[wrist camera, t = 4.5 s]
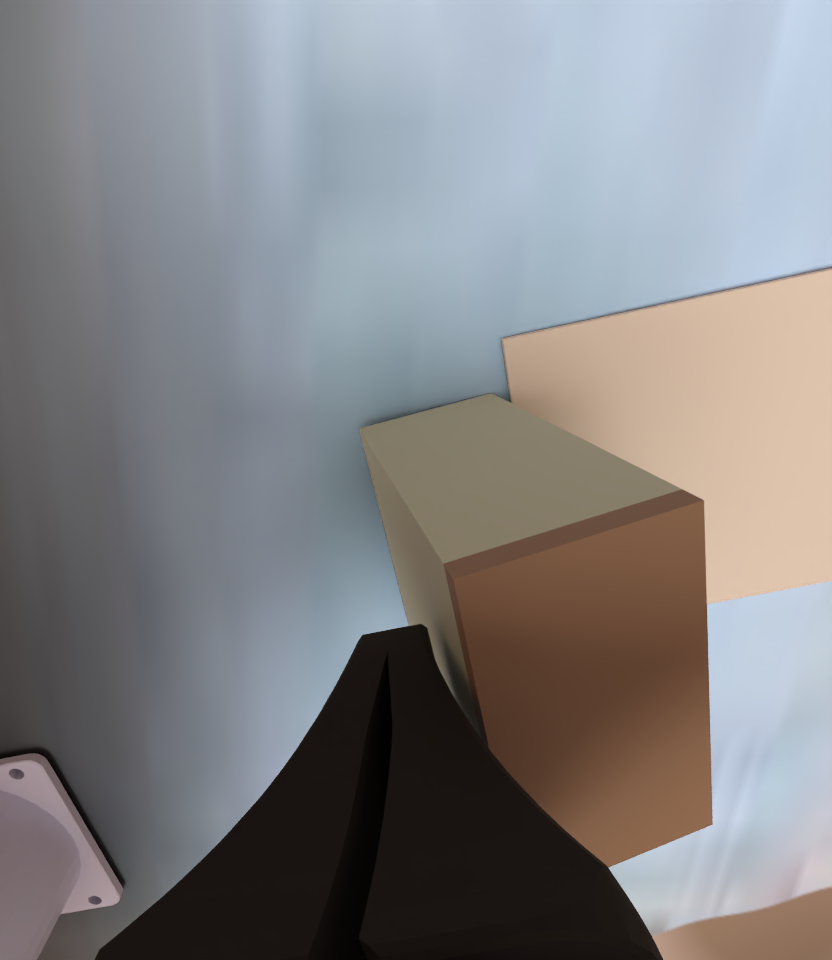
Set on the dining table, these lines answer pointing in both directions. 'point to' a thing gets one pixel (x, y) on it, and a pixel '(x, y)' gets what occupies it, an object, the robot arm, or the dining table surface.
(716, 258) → the dining table surface
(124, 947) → the robot arm
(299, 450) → the dining table surface
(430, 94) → the dining table surface
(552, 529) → the sage block
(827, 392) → the mat
